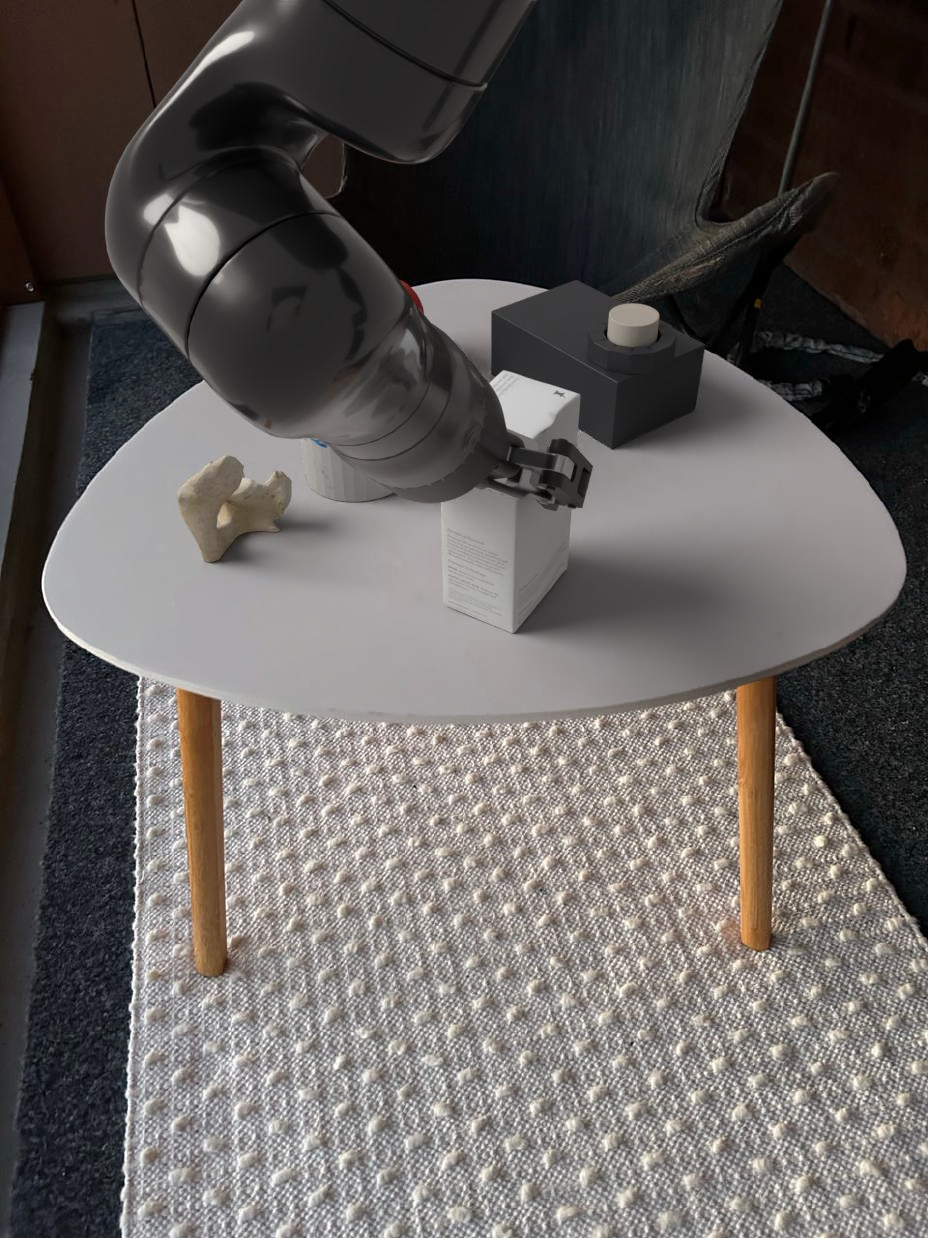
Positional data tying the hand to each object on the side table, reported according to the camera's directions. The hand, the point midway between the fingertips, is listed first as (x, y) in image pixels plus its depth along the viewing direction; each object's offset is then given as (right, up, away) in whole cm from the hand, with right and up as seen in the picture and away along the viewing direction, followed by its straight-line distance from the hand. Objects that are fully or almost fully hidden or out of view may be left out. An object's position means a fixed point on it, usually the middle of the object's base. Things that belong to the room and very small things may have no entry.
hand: (490, 480), depth 68 cm
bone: (-19, -2, +14) cm, 24 cm away
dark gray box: (+10, +12, +29) cm, 33 cm away
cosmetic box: (+1, -7, +9) cm, 11 cm away
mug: (-11, +4, +21) cm, 24 cm away
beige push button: (+12, +14, +20) cm, 28 cm away
